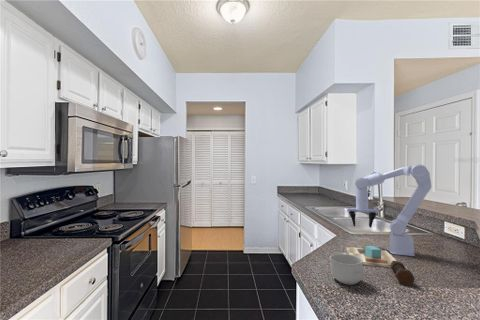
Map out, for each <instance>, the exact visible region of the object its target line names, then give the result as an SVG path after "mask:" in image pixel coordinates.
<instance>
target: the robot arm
mask: <svg viewBox="0 0 480 320" xmlns="http://www.w3.org/2000/svg"><path fill="white" fill-rule="evenodd" d="M398 176H400V177H401V176H408V177H409V176H411V177H413V179H415V183H416V184H417V187H416V189H415V190H414V191H413V193H412V195H411V196H410V197H409V199H408V200H407V202H406V204H405V205H404V206H403V209H402V210H401V211H400V213H399V214H398V215H397V217H396V218H394V219H393V220H391V222H390V225H389V229H390V231H389V247H388V248H387V247H386V251H387V252H388V253H389V252H390V253H389V254H391V255H400V256H407V257H409V256H410V257H416V255H415V243H414V242H415V240H414V238H413V235H410V234H408V233H407V226H408V224H409V222H410V220H411V218H412V217H413V216H414V214H415V213H416V211H417V210H418V208H419V207H420V205H421V204H422V202H423V201H424V200H425V198H426V196H427V195H428V194H429V192H430V191H431V189H432V182H431V174H430V171H429V169H428V168H427V166H425V165H424V164H419V163H418V164H414V165H408V166H403V167H400V168H397V169H393V170H390V171H387V172H385V173H381V172H375V171H374V172H372V174H369V175H364V176H363V177H358V178H357V179H356V180H355V183H354V185H355V190H356V191H355V207H347V208H346V212H347V213H349V217H350V218H351V221H352V225H353V227H356V213H365V214H366V213H367V214H368V227H369V228H372V226H373V223H374V221H375V218H376V216H377V214H379V210H378V209H376V208H369V191H368V187H373V186H378V185H381V184H384V182H385V181H386V180H387V179H391V178H396V177H398Z"/></svg>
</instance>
